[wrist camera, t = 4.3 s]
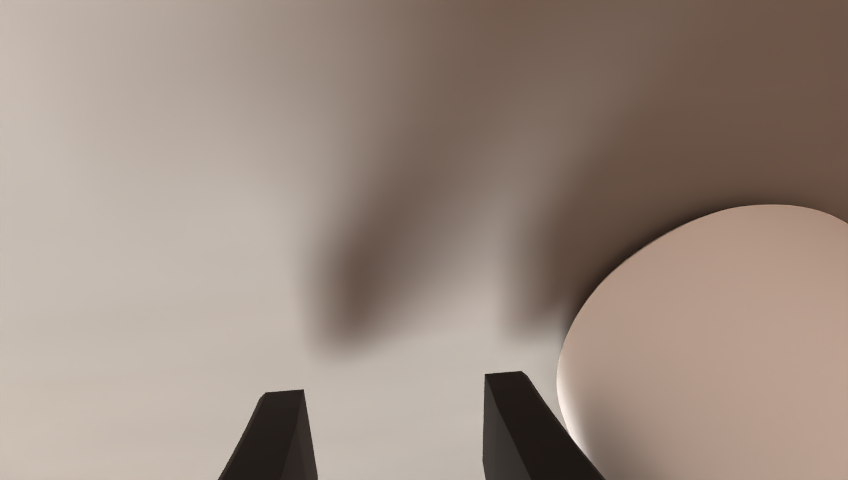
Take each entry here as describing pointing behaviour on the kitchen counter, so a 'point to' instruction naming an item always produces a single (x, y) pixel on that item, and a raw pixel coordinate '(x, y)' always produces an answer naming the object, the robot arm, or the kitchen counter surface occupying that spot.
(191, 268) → the kitchen counter surface
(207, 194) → the kitchen counter surface
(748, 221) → the can
